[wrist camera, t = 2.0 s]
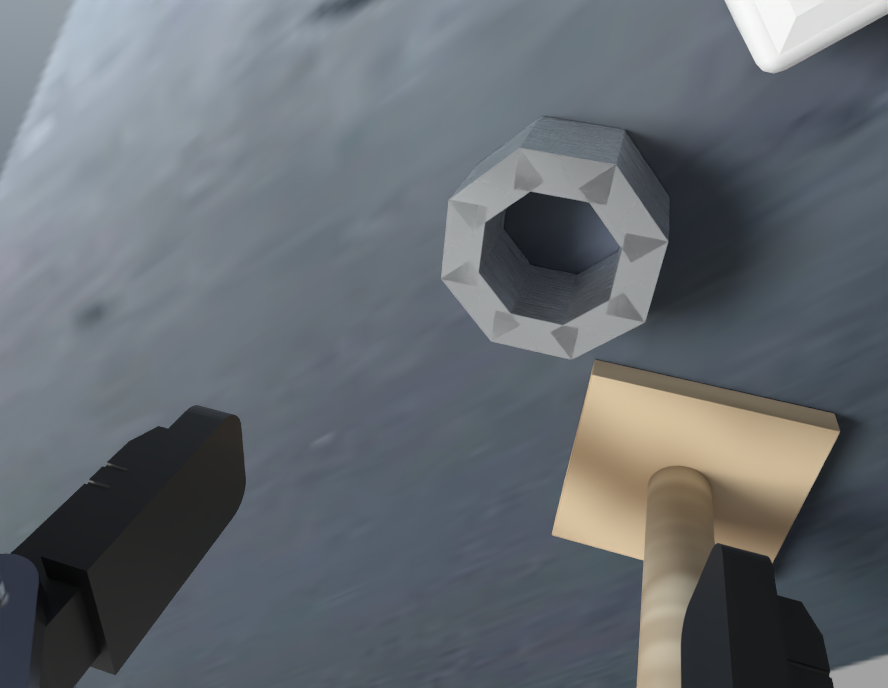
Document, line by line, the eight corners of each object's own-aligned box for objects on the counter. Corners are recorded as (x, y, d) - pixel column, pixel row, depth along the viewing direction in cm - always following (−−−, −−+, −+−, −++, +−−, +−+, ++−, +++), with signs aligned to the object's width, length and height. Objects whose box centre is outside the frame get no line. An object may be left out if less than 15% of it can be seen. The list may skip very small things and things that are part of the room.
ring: (484, 106, 21) (454, 136, 18) (685, 139, 20) (686, 176, 17) (464, 280, 25) (435, 328, 22) (636, 317, 23) (630, 373, 21)
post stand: (594, 359, 25) (538, 656, 15) (834, 413, 23) (948, 783, 13) (555, 517, 29) (491, 828, 19) (755, 571, 28) (797, 939, 18)
